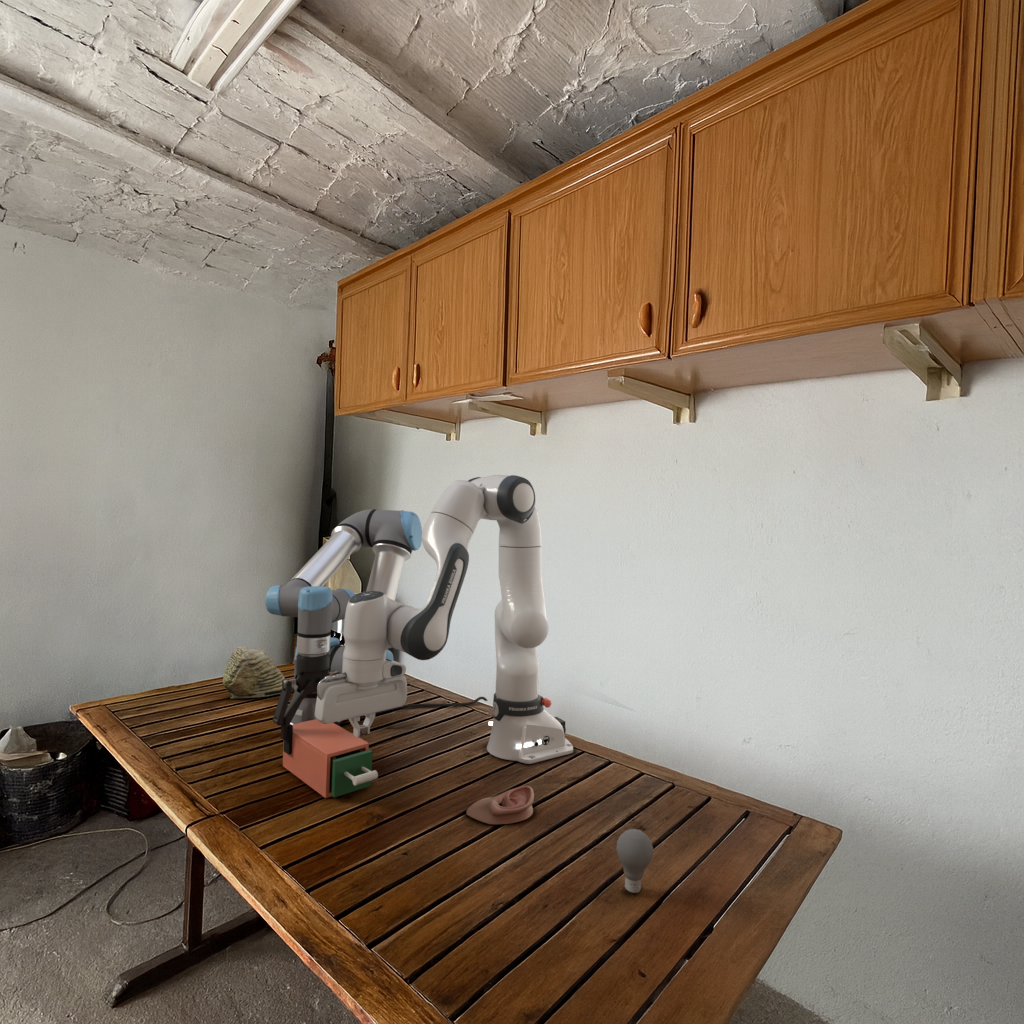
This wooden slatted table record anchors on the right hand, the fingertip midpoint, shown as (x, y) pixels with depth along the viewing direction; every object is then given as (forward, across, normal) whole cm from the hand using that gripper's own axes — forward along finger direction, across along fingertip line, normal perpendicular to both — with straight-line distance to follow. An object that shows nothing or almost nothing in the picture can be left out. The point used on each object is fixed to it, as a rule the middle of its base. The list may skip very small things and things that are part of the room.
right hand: (361, 734), depth 133 cm
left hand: (+9, 0, +22) cm, 24 cm away
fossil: (+14, +11, +80) cm, 82 cm away
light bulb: (+14, +18, -56) cm, 61 cm away
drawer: (+13, 0, +9) cm, 16 cm away
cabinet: (+14, 0, +15) cm, 20 cm away
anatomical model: (+14, +19, -23) cm, 33 cm away
